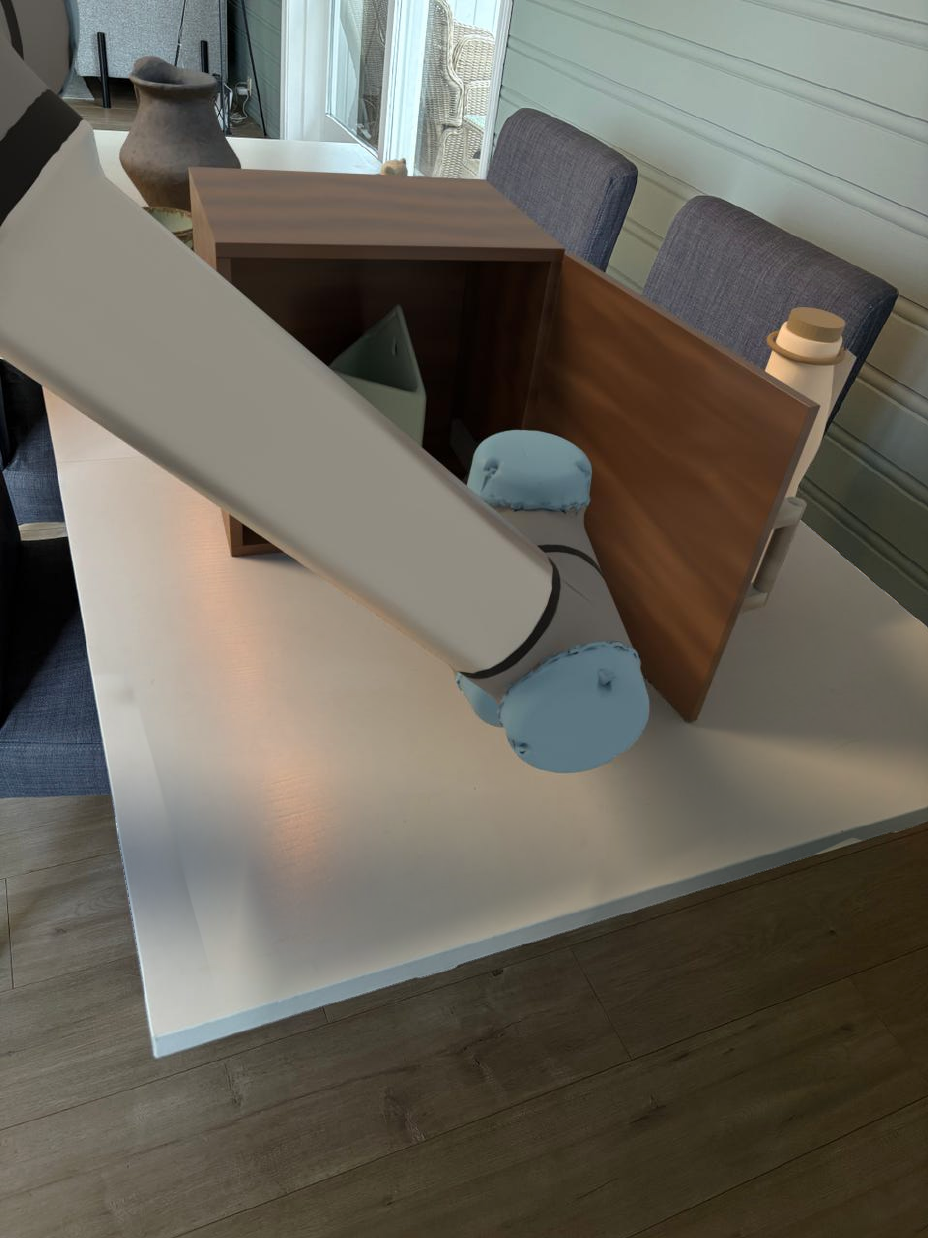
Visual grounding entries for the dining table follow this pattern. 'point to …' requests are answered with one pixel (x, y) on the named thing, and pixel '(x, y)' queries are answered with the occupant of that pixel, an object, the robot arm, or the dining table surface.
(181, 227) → the bowl
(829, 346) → the water bottle
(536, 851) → the dining table surface
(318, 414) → the robot arm
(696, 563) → the cupboard door
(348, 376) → the planter
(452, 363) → the cupboard
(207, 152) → the pitcher
